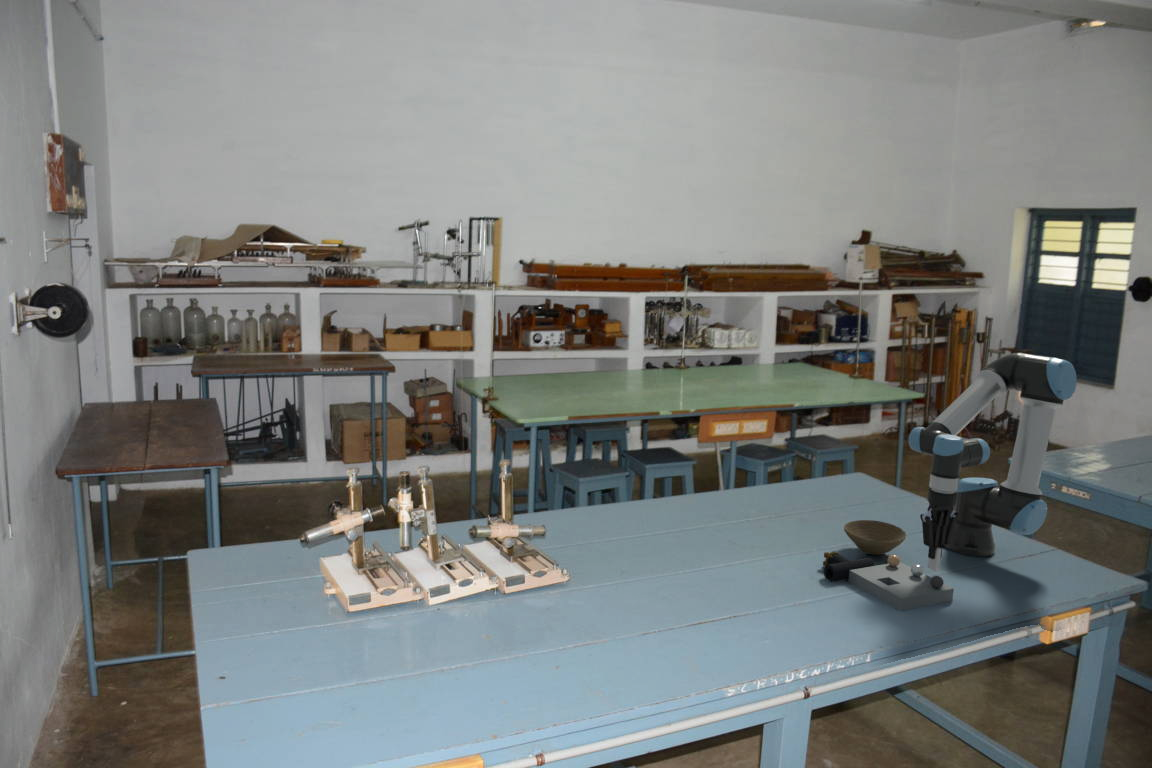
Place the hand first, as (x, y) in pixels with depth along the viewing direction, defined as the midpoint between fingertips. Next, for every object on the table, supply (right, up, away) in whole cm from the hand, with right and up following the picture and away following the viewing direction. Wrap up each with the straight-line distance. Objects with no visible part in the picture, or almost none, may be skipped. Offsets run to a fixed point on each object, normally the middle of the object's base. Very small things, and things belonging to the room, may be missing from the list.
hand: (933, 568), depth 246 cm
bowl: (-9, -1, +24) cm, 26 cm away
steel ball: (-6, -2, -2) cm, 6 cm away
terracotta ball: (-10, 0, +4) cm, 11 cm away
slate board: (-11, -5, -4) cm, 13 cm away
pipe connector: (-24, -3, +7) cm, 25 cm away
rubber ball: (-3, -3, -10) cm, 11 cm away
